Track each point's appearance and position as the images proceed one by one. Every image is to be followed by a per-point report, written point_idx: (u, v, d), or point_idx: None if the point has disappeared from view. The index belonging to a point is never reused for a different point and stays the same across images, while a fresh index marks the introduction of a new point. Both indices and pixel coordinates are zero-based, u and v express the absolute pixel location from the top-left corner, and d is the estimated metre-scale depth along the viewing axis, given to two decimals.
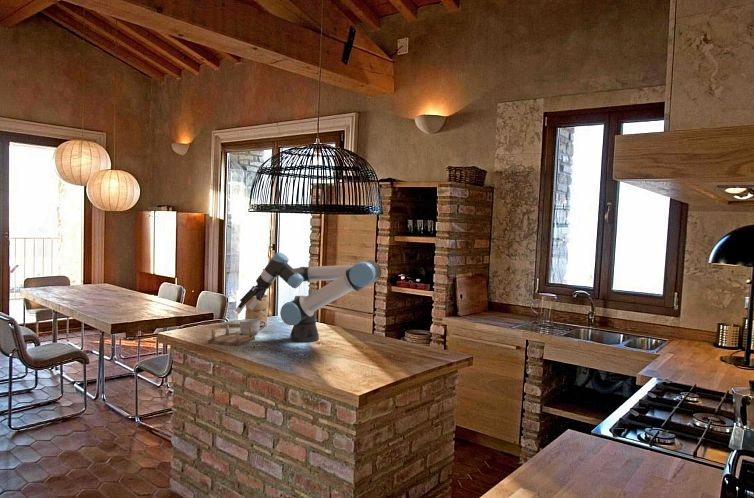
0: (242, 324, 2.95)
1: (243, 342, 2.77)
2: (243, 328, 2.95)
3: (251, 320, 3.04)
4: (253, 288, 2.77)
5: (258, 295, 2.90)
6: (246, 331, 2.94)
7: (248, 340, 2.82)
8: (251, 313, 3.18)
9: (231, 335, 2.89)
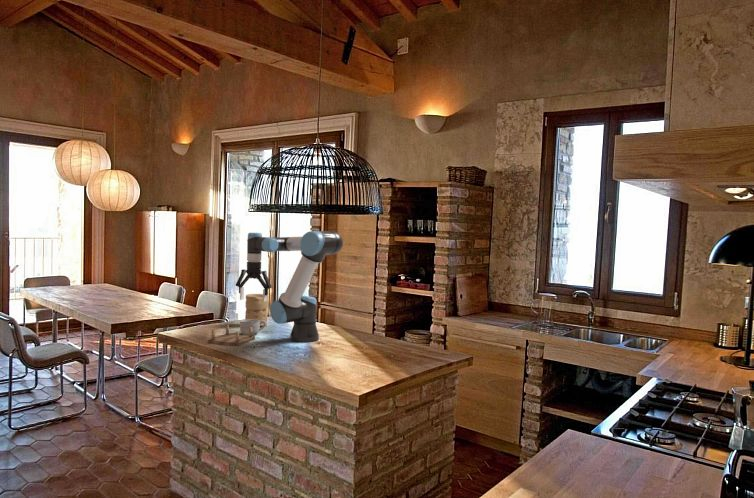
0: (242, 324, 2.95)
1: (243, 342, 2.77)
2: (243, 328, 2.95)
3: (251, 320, 3.04)
4: None
5: None
6: (246, 331, 2.94)
7: (248, 340, 2.82)
8: (251, 313, 3.18)
9: (231, 335, 2.89)
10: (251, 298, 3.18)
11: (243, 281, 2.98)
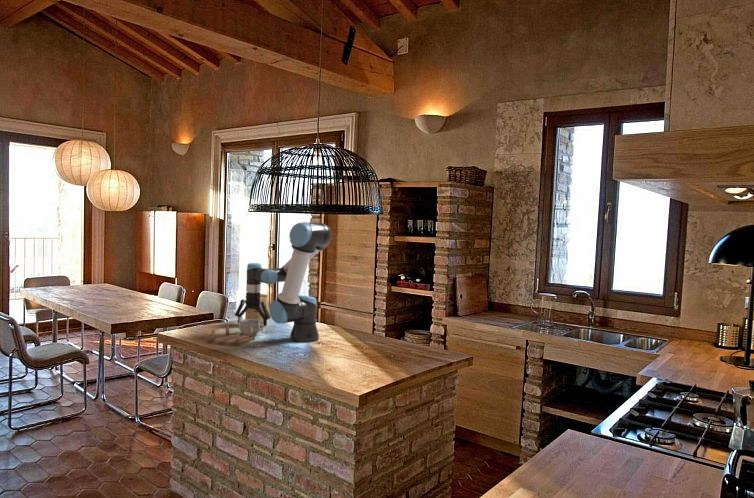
0: (242, 324, 2.95)
1: (243, 342, 2.77)
2: (243, 328, 2.95)
3: (251, 320, 3.04)
4: None
5: None
6: (246, 331, 2.94)
7: (248, 340, 2.82)
8: (251, 313, 3.18)
9: (231, 335, 2.89)
10: None
11: (242, 311, 3.00)
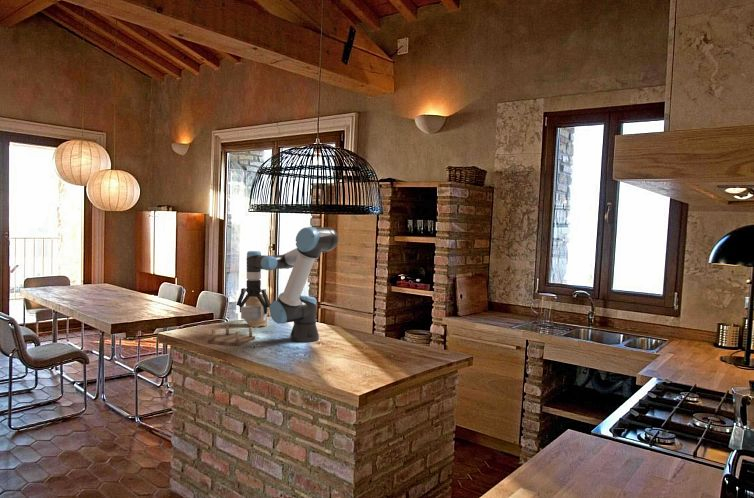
0: (244, 310, 2.94)
1: (243, 342, 2.77)
2: (245, 314, 2.94)
3: (253, 306, 3.03)
4: None
5: None
6: (248, 317, 2.93)
7: (248, 340, 2.82)
8: None
9: (231, 335, 2.89)
10: (251, 298, 3.18)
11: (243, 300, 2.99)
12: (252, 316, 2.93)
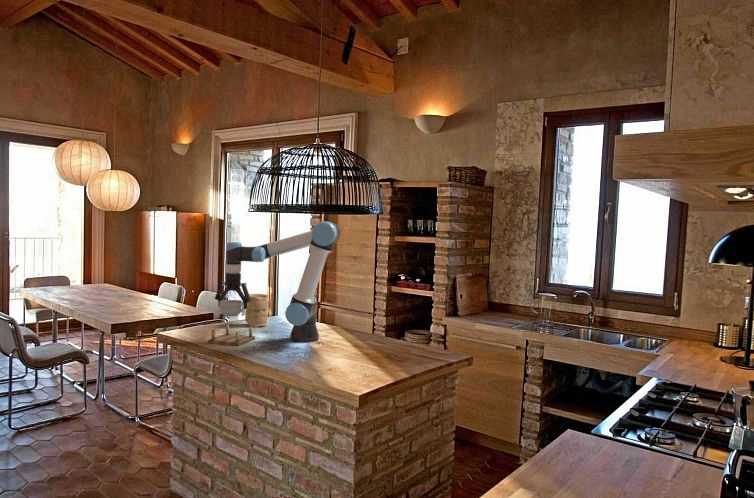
0: (222, 304, 2.77)
1: (243, 342, 2.77)
2: (223, 308, 2.77)
3: (233, 301, 2.87)
4: None
5: None
6: (227, 312, 2.77)
7: (248, 340, 2.82)
8: (251, 313, 3.18)
9: (231, 335, 2.89)
10: (251, 298, 3.18)
11: (222, 294, 2.82)
12: (231, 311, 2.77)
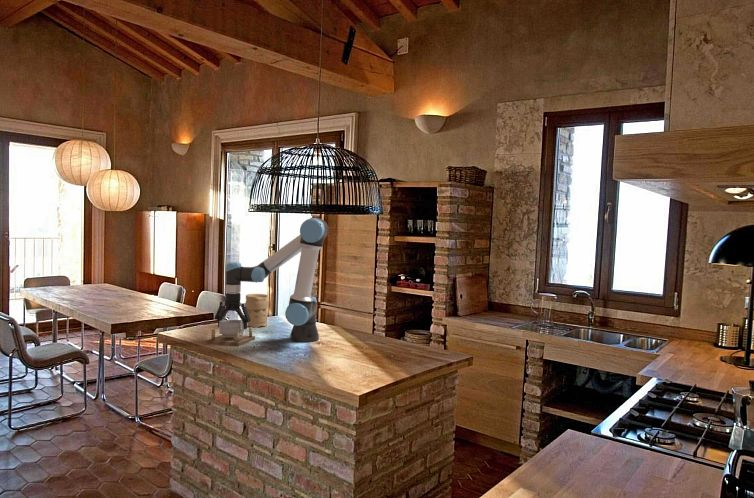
0: (222, 325, 2.78)
1: (243, 342, 2.77)
2: (223, 329, 2.77)
3: (232, 320, 2.87)
4: None
5: None
6: (226, 332, 2.77)
7: (248, 340, 2.82)
8: (251, 313, 3.18)
9: None
10: (251, 298, 3.18)
11: (222, 314, 2.83)
12: (230, 331, 2.77)
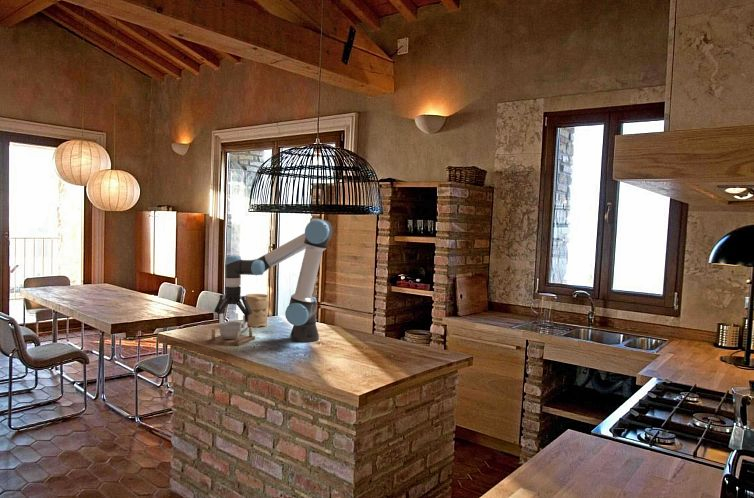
0: (222, 327, 2.78)
1: (243, 342, 2.77)
2: (223, 331, 2.78)
3: (232, 322, 2.87)
4: None
5: None
6: (226, 334, 2.77)
7: (248, 340, 2.82)
8: None
9: None
10: (251, 298, 3.18)
11: (222, 307, 2.82)
12: (230, 333, 2.77)
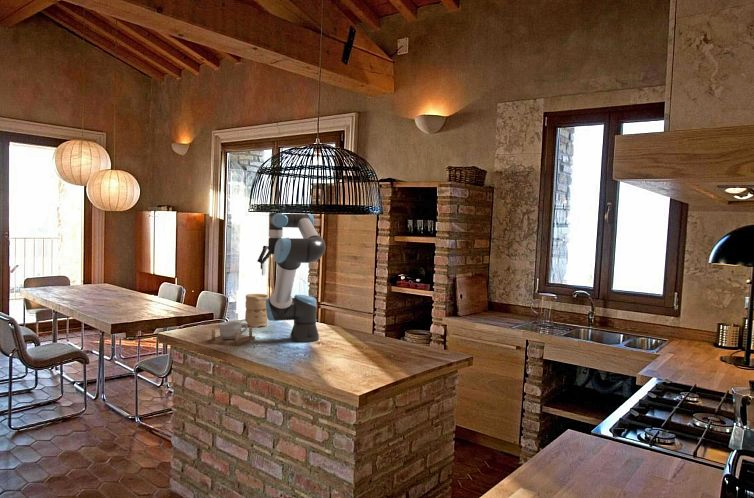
0: (222, 327, 2.78)
1: (243, 342, 2.77)
2: (223, 331, 2.78)
3: (232, 323, 2.87)
4: None
5: None
6: (226, 334, 2.77)
7: (248, 340, 2.82)
8: (251, 313, 3.18)
9: None
10: (251, 298, 3.18)
11: (265, 257, 3.04)
12: (230, 333, 2.77)
